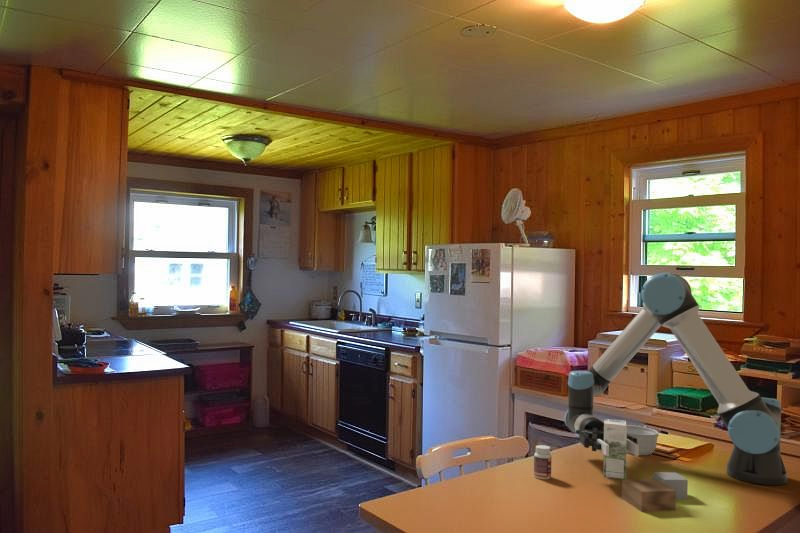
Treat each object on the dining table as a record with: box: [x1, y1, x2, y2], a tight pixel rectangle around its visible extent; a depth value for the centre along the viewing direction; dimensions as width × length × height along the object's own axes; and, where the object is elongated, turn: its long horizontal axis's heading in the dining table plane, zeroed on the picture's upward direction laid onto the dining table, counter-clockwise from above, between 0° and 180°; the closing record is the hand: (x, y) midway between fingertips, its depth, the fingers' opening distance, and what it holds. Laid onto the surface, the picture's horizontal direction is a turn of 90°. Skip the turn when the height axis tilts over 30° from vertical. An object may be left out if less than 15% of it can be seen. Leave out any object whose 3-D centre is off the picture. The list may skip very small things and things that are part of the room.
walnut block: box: [621, 478, 677, 513], centre depth 154 cm, size 9×9×5 cm
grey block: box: [653, 471, 689, 500], centre depth 162 cm, size 6×6×5 cm
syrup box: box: [603, 418, 628, 480], centre depth 166 cm, size 6×6×14 cm
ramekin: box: [626, 424, 659, 456], centre depth 204 cm, size 13×13×7 cm
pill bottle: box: [533, 444, 553, 480], centre depth 174 cm, size 5×5×8 cm
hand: (622, 450), depth 161 cm, fingers closed on syrup box, 7 cm apart
